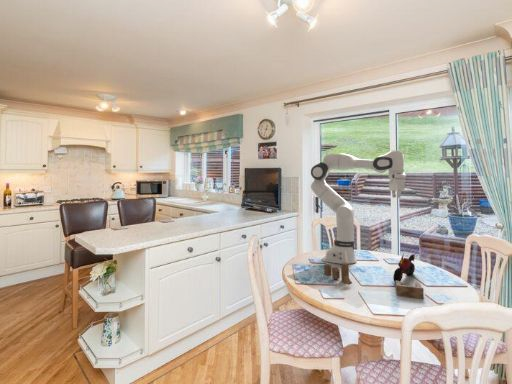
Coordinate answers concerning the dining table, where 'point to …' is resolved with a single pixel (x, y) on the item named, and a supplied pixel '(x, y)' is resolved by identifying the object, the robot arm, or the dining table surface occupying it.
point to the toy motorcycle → (404, 268)
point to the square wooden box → (409, 290)
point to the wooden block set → (338, 272)
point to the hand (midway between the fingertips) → (396, 197)
